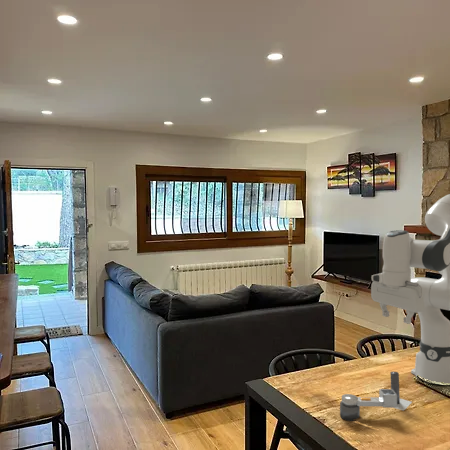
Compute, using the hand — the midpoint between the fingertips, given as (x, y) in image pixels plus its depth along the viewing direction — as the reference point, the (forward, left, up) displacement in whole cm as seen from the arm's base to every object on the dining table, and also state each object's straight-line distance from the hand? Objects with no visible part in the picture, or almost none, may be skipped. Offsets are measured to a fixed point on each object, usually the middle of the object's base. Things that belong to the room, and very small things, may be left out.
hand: (396, 319), depth 139 cm
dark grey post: (0, 0, -28) cm, 28 cm away
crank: (+14, -3, -25) cm, 29 cm away
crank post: (+18, -8, -29) cm, 35 cm away
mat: (0, 0, -29) cm, 29 cm away
